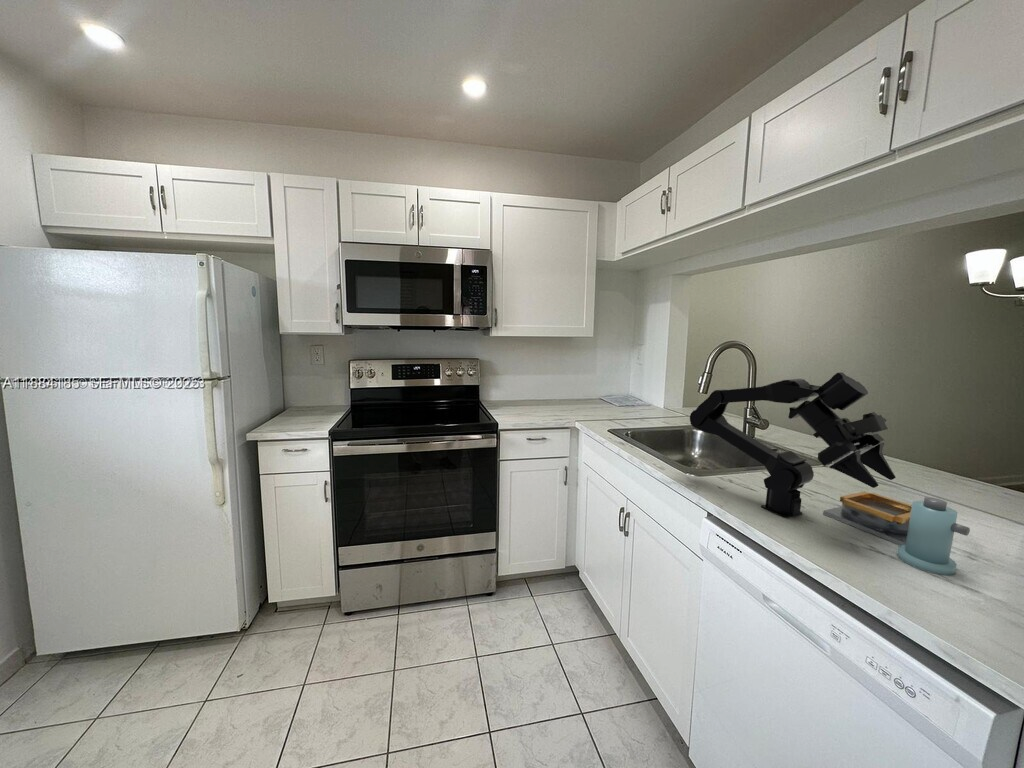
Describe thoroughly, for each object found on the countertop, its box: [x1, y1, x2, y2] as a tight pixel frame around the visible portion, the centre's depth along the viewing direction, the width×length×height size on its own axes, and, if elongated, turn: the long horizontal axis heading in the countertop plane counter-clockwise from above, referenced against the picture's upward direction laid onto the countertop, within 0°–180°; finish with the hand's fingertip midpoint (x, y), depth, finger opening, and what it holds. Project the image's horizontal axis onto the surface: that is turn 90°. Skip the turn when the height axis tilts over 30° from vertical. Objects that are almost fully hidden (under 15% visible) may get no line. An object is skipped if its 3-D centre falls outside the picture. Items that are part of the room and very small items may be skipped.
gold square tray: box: [822, 491, 912, 546], centre depth 93 cm, size 16×14×5 cm
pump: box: [896, 496, 971, 576], centre depth 76 cm, size 9×8×13 cm
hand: (885, 482), depth 82 cm, fingers open, 9 cm apart
